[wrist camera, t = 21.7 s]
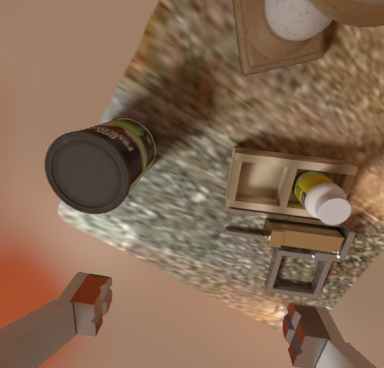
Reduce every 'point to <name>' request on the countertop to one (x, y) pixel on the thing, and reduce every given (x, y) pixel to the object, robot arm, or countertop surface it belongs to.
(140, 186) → the countertop surface
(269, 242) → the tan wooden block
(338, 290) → the countertop surface
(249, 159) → the box
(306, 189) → the supplement bottle
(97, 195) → the coffee can
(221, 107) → the countertop surface
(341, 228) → the socket block
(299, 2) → the candle holder
